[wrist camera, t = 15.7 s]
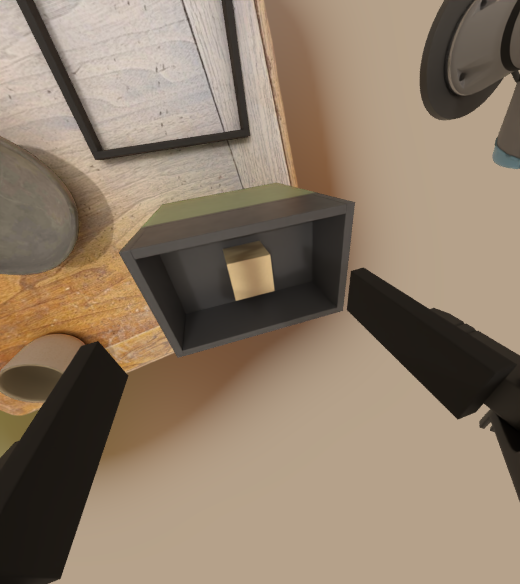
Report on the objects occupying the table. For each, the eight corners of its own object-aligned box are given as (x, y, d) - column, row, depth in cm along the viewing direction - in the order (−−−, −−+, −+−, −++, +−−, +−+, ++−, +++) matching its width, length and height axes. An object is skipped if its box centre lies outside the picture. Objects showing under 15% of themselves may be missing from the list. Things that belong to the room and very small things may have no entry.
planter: (18, 346, 49) (-24, 387, 40) (57, 318, 48) (24, 354, 39) (70, 370, 56) (45, 409, 47) (106, 346, 55) (87, 382, 46)
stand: (276, 182, 44) (315, 192, 29) (282, 248, 52) (314, 281, 37) (162, 204, 41) (141, 227, 26) (187, 270, 49) (182, 316, 34)
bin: (315, 192, 29) (355, 202, 22) (314, 281, 37) (343, 310, 30) (141, 227, 26) (118, 252, 19) (182, 316, 34) (177, 358, 27)
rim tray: (217, -75, 26) (219, -95, 24) (247, 137, 39) (250, 135, 37) (-10, -70, 23) (-30, -93, 21) (101, 159, 35) (95, 159, 33)
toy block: (259, 240, 30) (270, 254, 25) (264, 273, 33) (274, 291, 28) (222, 248, 29) (226, 264, 25) (230, 281, 32) (235, 301, 28)
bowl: (-11, 88, 29) (-74, 65, 22) (122, 216, 40) (106, 227, 34) (-107, 181, 31) (-190, 186, 24) (45, 277, 43) (17, 298, 36)
